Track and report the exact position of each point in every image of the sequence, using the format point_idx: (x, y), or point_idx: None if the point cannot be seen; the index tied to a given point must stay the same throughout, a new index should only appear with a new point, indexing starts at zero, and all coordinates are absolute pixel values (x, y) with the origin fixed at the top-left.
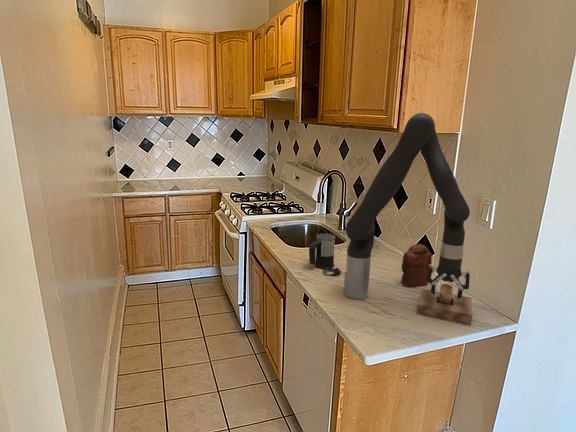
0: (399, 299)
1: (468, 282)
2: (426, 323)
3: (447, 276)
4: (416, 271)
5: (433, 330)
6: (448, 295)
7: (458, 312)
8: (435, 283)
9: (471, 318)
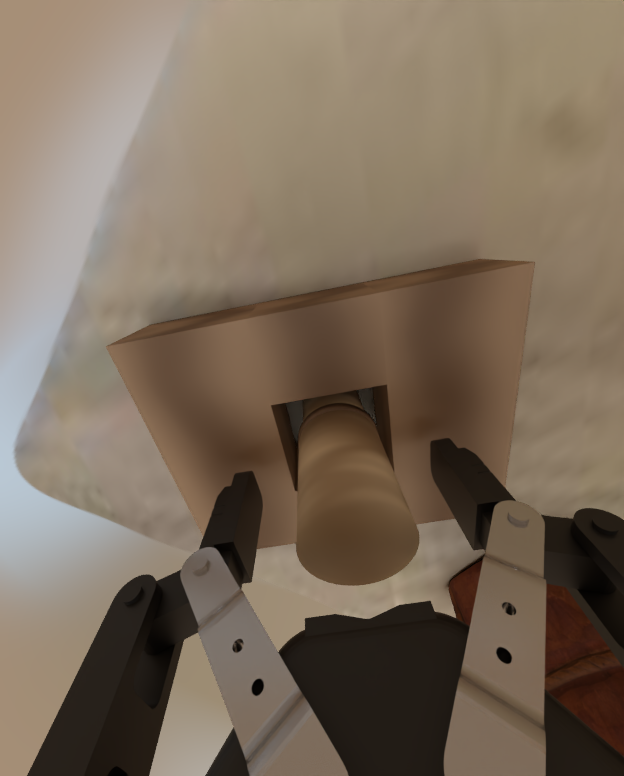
0: (588, 387)
1: (73, 702)
2: (400, 153)
3: (406, 729)
4: (573, 644)
5: (331, 55)
6: (317, 456)
7: (203, 326)
8: (498, 527)
9: (124, 338)
